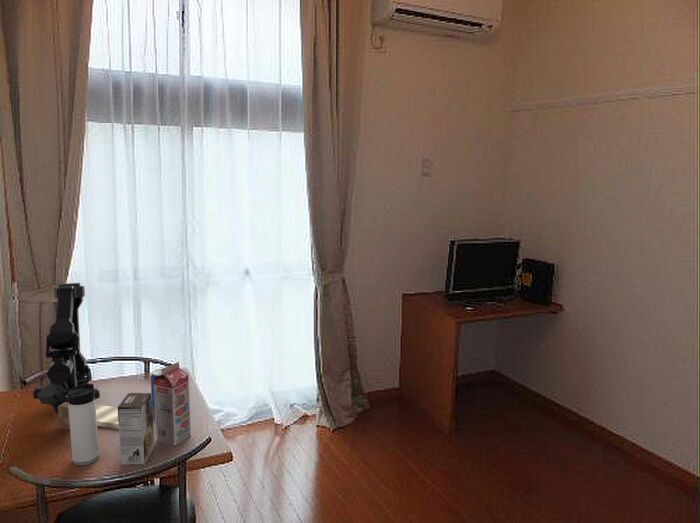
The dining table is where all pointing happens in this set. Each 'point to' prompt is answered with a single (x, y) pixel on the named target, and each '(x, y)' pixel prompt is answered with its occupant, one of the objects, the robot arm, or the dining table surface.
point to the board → (107, 416)
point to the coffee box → (136, 428)
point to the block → (64, 416)
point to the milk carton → (172, 405)
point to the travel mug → (83, 424)
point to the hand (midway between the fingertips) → (68, 420)
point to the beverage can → (154, 374)
